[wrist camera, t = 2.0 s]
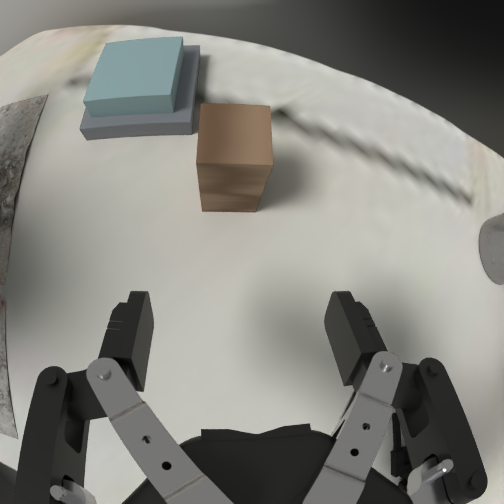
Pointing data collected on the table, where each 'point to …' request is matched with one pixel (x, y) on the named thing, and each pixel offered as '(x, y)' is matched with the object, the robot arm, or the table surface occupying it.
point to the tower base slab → (155, 122)
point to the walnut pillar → (233, 156)
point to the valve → (11, 215)
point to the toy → (400, 456)
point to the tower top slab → (136, 77)
